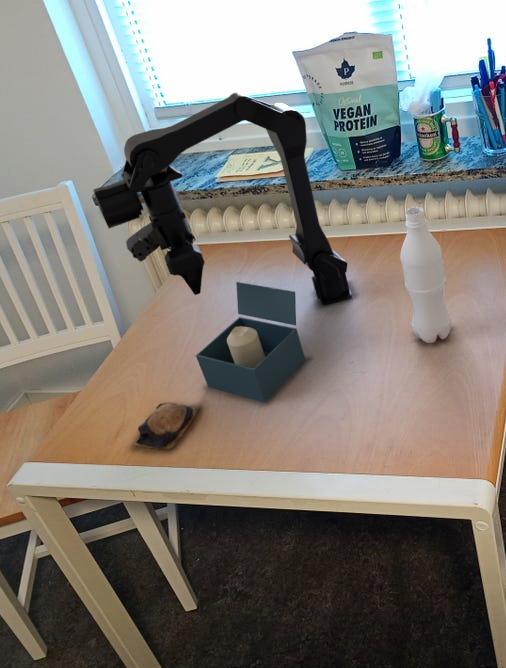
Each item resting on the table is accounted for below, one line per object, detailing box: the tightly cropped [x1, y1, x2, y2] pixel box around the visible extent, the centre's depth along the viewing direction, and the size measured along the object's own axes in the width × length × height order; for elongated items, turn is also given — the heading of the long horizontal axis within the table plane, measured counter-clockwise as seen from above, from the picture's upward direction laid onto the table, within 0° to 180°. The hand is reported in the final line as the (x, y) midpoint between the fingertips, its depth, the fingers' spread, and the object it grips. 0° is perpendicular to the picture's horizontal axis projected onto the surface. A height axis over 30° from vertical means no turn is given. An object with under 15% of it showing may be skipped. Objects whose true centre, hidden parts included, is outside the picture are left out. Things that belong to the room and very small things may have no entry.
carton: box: [195, 316, 307, 404], centre depth 132 cm, size 13×14×7 cm
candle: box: [227, 326, 265, 369], centre depth 131 cm, size 6×6×10 cm
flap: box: [235, 281, 297, 326], centre depth 132 cm, size 6×14×1 cm
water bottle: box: [400, 206, 452, 344], centre depth 126 cm, size 7×7×25 cm
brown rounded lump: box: [134, 402, 199, 451], centre depth 125 cm, size 11×8×4 cm
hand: (193, 283), depth 137 cm, fingers open, 9 cm apart
